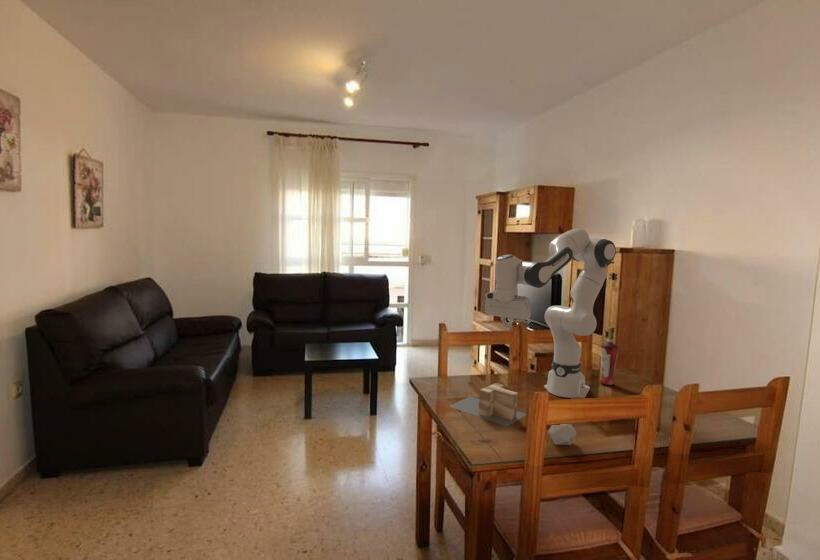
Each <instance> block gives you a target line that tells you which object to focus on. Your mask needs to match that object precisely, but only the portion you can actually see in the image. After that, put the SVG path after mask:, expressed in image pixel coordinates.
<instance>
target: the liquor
mask: <svg viewBox="0 0 820 560" xmlns="http://www.w3.org/2000/svg"><path fill="white" fill-rule="evenodd" d="M607 327H608V328H607V330H608V331H607V332H608V334H607V340H606V342H605V343H602V344H601V352H600V356H601V357H600V375H599V377H600V378H599V380H598V381H599V382H600V384H601V383H602V385H603V384H605V385H604V386H606V385H611V386H613V385H614V384H615V381H614V380H615V372H616V364H617V359H618V349H619V346H618V344H617V345H616V344H615V343H614V333H615V327H614V326H607Z"/></svg>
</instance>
